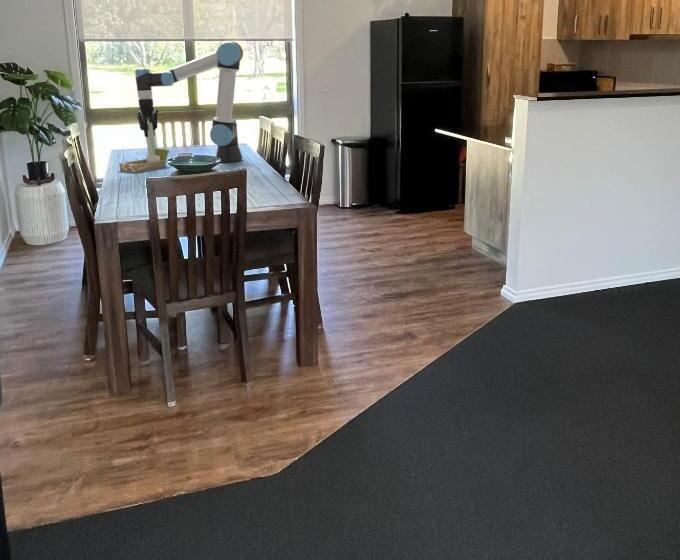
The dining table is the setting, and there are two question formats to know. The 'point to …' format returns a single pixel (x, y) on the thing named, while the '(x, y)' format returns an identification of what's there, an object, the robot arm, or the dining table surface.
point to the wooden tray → (141, 165)
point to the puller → (151, 146)
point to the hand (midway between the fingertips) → (150, 142)
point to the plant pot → (162, 154)
